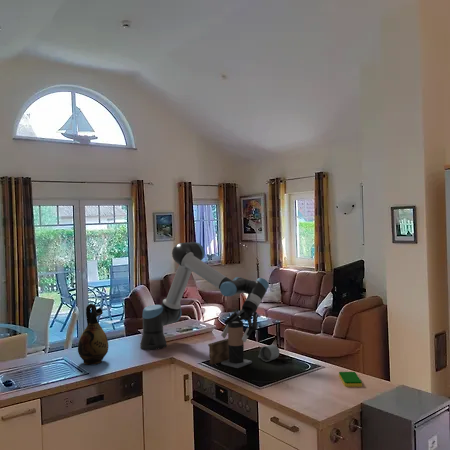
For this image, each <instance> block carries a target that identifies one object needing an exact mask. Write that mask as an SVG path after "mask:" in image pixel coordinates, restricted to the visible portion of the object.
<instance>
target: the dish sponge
mask: <svg viewBox="0 0 450 450" xmlns="http://www.w3.org/2000/svg"><path fill="white" fill-rule="evenodd" d="M338 377H339V379H340V381H341V382H342V384H343V386H344V387H345V388H346V387H347V388H350V387H353V388H354V387H355V388H356V387H358V388H359V387H360V388H362V387H363V383H362V379H360V377H359V376H358V374H357V373H356V372H355V371H338Z"/></svg>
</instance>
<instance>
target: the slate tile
mask: <svg viewBox="0 0 450 450" xmlns="http://www.w3.org/2000/svg"><path fill="white" fill-rule="evenodd" d="M252 363H253V361H252V360H249V359H246V358H244V361H243V362H242V363H231V362H230V361H229V359H228V360H225V361H222V362H220V364H221V365H224V366H227V367H231V368H235V369H239V368H242V367H245V366H247V365H250V364H252Z"/></svg>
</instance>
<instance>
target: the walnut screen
mask: <svg viewBox="0 0 450 450" xmlns="http://www.w3.org/2000/svg"><path fill="white" fill-rule="evenodd" d="M228 345H229V344H228V338H223V339H222V340H219V341H214V342H210V343H208V347H209V352H208V353H209V365H212V366H213V365H216V364H219V363H221V362H223V361H225V360H228V359H229V346H228Z"/></svg>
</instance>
